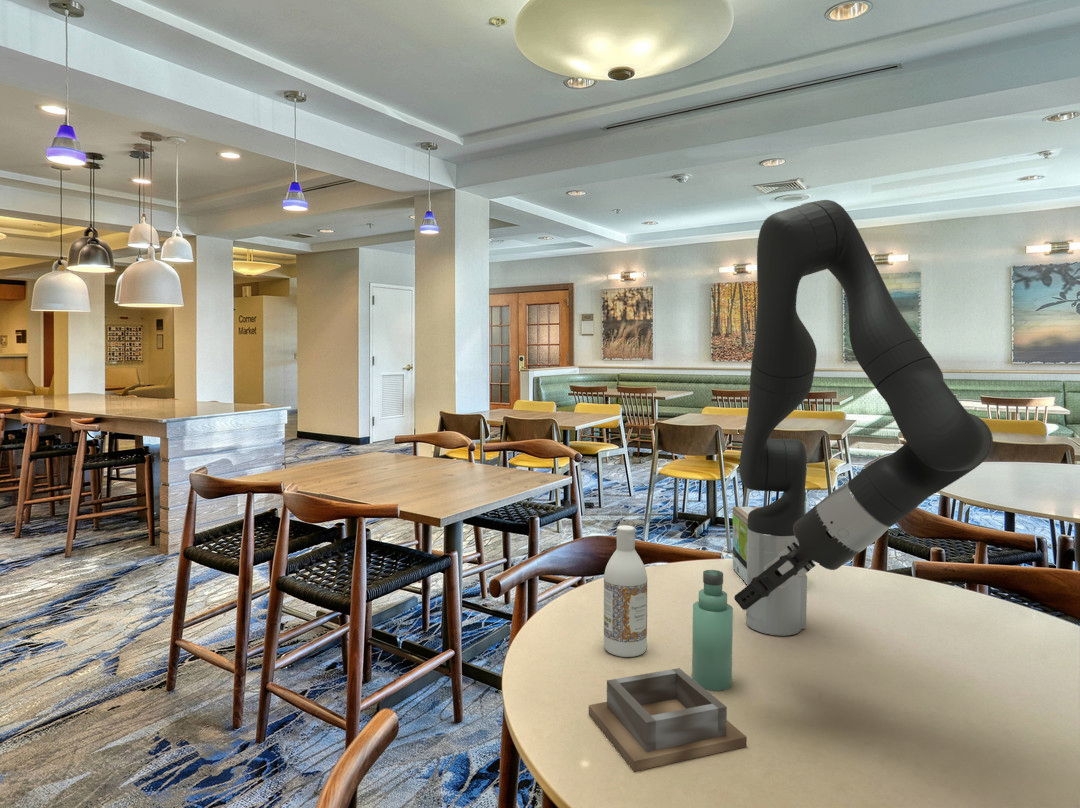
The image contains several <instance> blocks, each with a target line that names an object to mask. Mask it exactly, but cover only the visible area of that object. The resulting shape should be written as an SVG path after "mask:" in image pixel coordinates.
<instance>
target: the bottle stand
mask: <svg viewBox="0 0 1080 808" xmlns="http://www.w3.org/2000/svg"><path fill="white" fill-rule="evenodd" d="M727 709H728V707H727V706H726V705H725V704H724V703H723V702H722V701H720V700H719V699H718V698H717V697H715V696H714V695H713V694H712V693H711V692H709V690H707V689H704V688H703V687H702V686H701V685H699V684H698V683H697V682H696V681H695V680H693V679H692V676H690V675H689V674H687V673H686V672H685V671H684V670H683V669H681V668H680V667H678V668H671V669H666V670H659V671H655V672H654V671H653V672H648V673H643V674H642V673H641V674H636V675H631V676H624V677H617V678H613V679H607V680H606V701H604V702H597V703H594V704H593V703H592V704H588V715H589V717H590V718H591V719H592V720H593V721H594V723H595V724H596V725H597V726H598V727H599V729H600V731H601V732H602V733H603V734H604V735H605V737H606V738H607V739H608V740H609V742H610V743H611V744H612V745H613V747H614V748H615V749H616V750H617V751H618V753H619V754H620V756H622V758H623V759H624V761H625V760H626V761H625V762H626V764H628V765H630V766H629V767H630V768H631V769H632V770H633V772H639V771H643V770H648V769H652V768H656V767H660V766H661V767H662V766H664V765H669V764H671V765H672V764H674V763H675V764H676V763H679V762H684V761H687V760H693V759H697V758H702V757H707V756H709V755H714V754H719V753H723V752H728V751H733V750H737V749H742V748H747V746H748V744H747V741H748V740H747V739H748V738H747V735H745V734H744V733H743V732H742V731H741V730H739V729H738V728H737V727H736V726H735V725H734V724H732V723H731V722H730V721H729V720H728V719H727V716H728V714H727V712H728V710H727Z"/></svg>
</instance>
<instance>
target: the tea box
mask: <svg viewBox="0 0 1080 808" xmlns="http://www.w3.org/2000/svg"><path fill="white" fill-rule="evenodd" d="M760 507H761V506H732V569H733V568H734V569H735V570H734V569H733V570H734V571H735V573H737V574H738V576H739V577H740V578H741V580H742V579H743V580H744V581H743V580H742V581H743V582H744V583H745V584H747V530H748V527H747V524H748V514H749V513H750V512H751V511H752V510H754V509H757V508H760Z"/></svg>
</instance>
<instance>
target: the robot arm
mask: <svg viewBox="0 0 1080 808" xmlns="http://www.w3.org/2000/svg"><path fill="white" fill-rule="evenodd" d="M756 246H757V247H756V282H757V283H756V284H757V285H756V291H757V293H756V294H757V295H756V296H757V297H756V298H757V299H756V301H757V302H756V321H755V332H754V333H755V334H754V342H753V350H752V351H753V352H752V357H751V365H750V366H751V367H750V377H749V379H750V380H749V394H748V409H747V416H746V417H747V418H746V422H745V428H744V433H743V438H742V444H741V450H740V454H739V455H740V456H739V465H738V466H739V468H738V469H739V470H738V471H739V478H740V480H741V481H740V482H741V484H742V485H743V486H744V487H745V489H748V490H752V491H755V492H756V491H757V492H777V493H779V492H782V495H781V496H780V497H779V498H778V499H777V500H775V501H773V502H772V503H769V504H766V505H764V506H759V507H760V508H757V509H754V510H752V511H751V512H750V513H749V514H748V524H747V527H748V530H747V585H746V586H745V587H744V588H743V589H741V590H740V591H739V592H737V593H736V594H735V595H734V597H733V598H734V600H735V602H736V603H737V604H738V605H739V607H740V608H741V609H742V610H744V611H745V624H746V626H747V627H749V628H750V629H752V630H754V631H757V632H759V633H762V634H766V635H771V636H780V637H781V636H783V637H785V636H792V635H797V634H798V633H801V631H802V630H803V629H807V611H808V610H807V602H808V601H807V599H808V575H807V573H809V571H811V570H812V569H813V568H815V567H816V566H817V565H816V564H815V563H817V564H819V566H821V567H823V568H824V569H827V570H830V571H835V570H837V569H839V568H841V567H842V566H843V565H845V564H846V563H847V562H849V561H850V560H852V559H853V558H855V556H857V555H859V554H860V553H862V552H863V551H864V550H866V549H867V548H868V547H869V546H870V545H872V544H874V543H875V542H876V541H878V539H880V538H881V537H882V536H883V535H884V534H885V533H886V532H887V531H888V530H889V529H890V528H891V527H892V526H894V525H895V524H897V523H898V522H900V521H901V520H902V519H903V518H905V517H906V516H908V515H909V514H910V513H912V512H913V511H914V510H916V508H918V507H919V506H920V505H921V504H922V503H923V502H925V501H926V500H927V499H928V498H930V497H931V496H933V495H935V494H937V493H938V492H940V491H942V490H943V489H945V488H946V487H948V486H950V485H952V484H953V483H955V482H956V481H958V480H959V479H961V478H963V477H964V476H966V475H967V474H969V473H970V472H972V471H973V470H975V469H976V468H978V467H979V466H980V465H981V464H983V463H984V462H985V461H986V459H987V458H988V457H989V456H990V453H991V451H992V449H993V442H994V438H993V434H992V431H991V429H990V427H989V426H988V424H987V423H986V422H985V421H984V420H983V419H981V418H980V417H979V416H977V415H975V414H973V413H970V412H968V411H967V410H966V409H965V407H964V406H963V405H962V404H961V402H960V401H959V399H958V398H957V397H956V395H955V394H954V393H953V392H952V390H951V389H950V387H949V386H948V385H947V384H946V382H945V381H944V373H943V371H942V369H941V368H940V366H939V364H938V362H936V360H935V359H934V358H933V356H932V354H931V353H930V352H929V350H928V349H927V347H926V346H925V345H924V344H923V342H922V341H921V340H920V338H919V337H918V335H917V334H916V333H915V332H914V330H913V329H912V328H911V326H910V325H909V324H908V322H907V321H906V319H905V318H904V316H903V315H902V312H901V311H900V309H898V306H897V305H896V303H895V302H894V299H893V298H892V295H891V294H890V292H889V291H890V290H889V289H888V288H887V286H886V284H885V281H884V280H883V277H882V275H881V273H880V271H879V269H878V267H877V265H876V262H875V261H874V259H873V257H872V256H871V253H870V252H869V249H868V247H867V245H866V243H865V241H864V239H863V237H862V235H861V233H860V232H859V229H858V227H857V226H856V224H855V223H854V220H853V219H852V218H851V216H850V215H849V213H848V212H847V211H846V210H845V208H844V207H843V206H842V205H841V204H839V203H838V202H836V201H834V200H829V199H822V200H821V199H820V200H815V201H810V202H809V203H808V202H807V203H804V204H800V205H796V206H794V207H790V208H787V209H784V210H780V211H778V212H775V213H772V214H771V215H768V217H767V218H765V220H764V221H763V222H762V225H761V227H760V229H759V233H758V239H757V245H756ZM826 270H827V271H829V273H831V274H832V275H833V276H834V277H835V278H836V280H837V281H838V282H839V284H840V286H841V287H842V289H843V291H844V293H845V297H846V301H847V308H848V309H847V310H848V333H849V336H848V337H849V341H850V346H851V347H850V348H851V350H852V352H853V355H854V358H855V359H856V361H857V363H858V365H859V366H860V367H861V370H863V372H864V373H865V375H866V376H867V378H868V379H869V380H870V382H871V384H872V385H873V386H874V388H875V389H876V391H877V392H878V393H879V395H880V396H881V398H882V399H883V400H884V401H885V402H886V404H887V406H888V408H889V410H890V413H891V416H892V417H893V420H894V422H895V423H896V425H897V427H898V429H899V431H900V434H901V435H902V437H903V438H904V440H905V442H906V443H905V444H903V445H902V446H901V447H899V448H898V449H897V450H896V451H894V452H893V453H891V454H888V455H887V456H883V457H880V458H878V459H876V460H875V461H873V462H872V463H870V464H869V465H867V466H866V467H865V468H864V469H862V470H861V471H860V472H859V473H857V474H856V475H855V476H854V477H853V478H851V479H850V480H849V481H848V482H847V483H844V484H843V485H842V486H840V487H838V488H837V489H835V490H834V491H831V493H830V494H828V495H827V496H825V497H824V498H823V499H822V500H821V501H820V502H818V503H817V504H816V505H814V506H813V507H812V508H811V509H809V510H808V511H807V512H806V513H805V495H806V481H807V469H808V466H807V465H808V459H807V450H806V447H805V445H804V443H803V442H802V441H801V440H799V439H796V438H770V436H771V434H772V433H773V431H774V430H775V428H776V427H778V425H780V424H781V422H783V421H784V420H785V419H786V418H787V417H788V416H789V415H791V414H792V413H793V412H794V411H795V410H796V409H797V408H798V407H799V406H800V405H801V404H802V403H803V402H804V401H805V399H806V398H807V397H808V395H809V394H810V392H811V390H812V387H813V383H814V382H813V381H814V376H815V371H816V369H815V368H816V365H817V355H818V354H817V347H816V345H815V340H814V339H813V337H812V335H811V334H810V332H809V330H808V328H806V326H805V324H804V322H802V320H801V318H800V316H799V314H798V312H797V299H798V298H797V297H798V296H797V295H798V290H799V289H798V288H799V285H800V282H801V280H802V279H803V277H805V276H809V275H812V274H816V273H818V272H819V273H820V272H821V271H826Z"/></svg>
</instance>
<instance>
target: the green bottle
mask: <svg viewBox="0 0 1080 808" xmlns="http://www.w3.org/2000/svg"><path fill="white" fill-rule="evenodd" d="M702 583H703V589H702V588H701V589H700V590H698V600H697V601H695V602H693V604H692V639H691V640H692V641H691V642H692V644H691V645H692V647H691V649H692V650H691V651H692V654H691V664H692V665H691V678H692V679H693V680H695V681H696V682H697V683H698V684H699V685H701V686H702V687H703V688H704V689H706V690H707V691H714V692H721V691H725V690H729V689H730V688H731V687H732V685H733V636H734V635H733V631H734V628H733V626H734V624H733V623H734V621H733V620H734V608H733V606H732V605H730V604H729V603H728V593H727V592H726V591H724V590H723V585H724V572H723V571H720V570H717V569H706V570H703V572H702Z"/></svg>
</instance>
